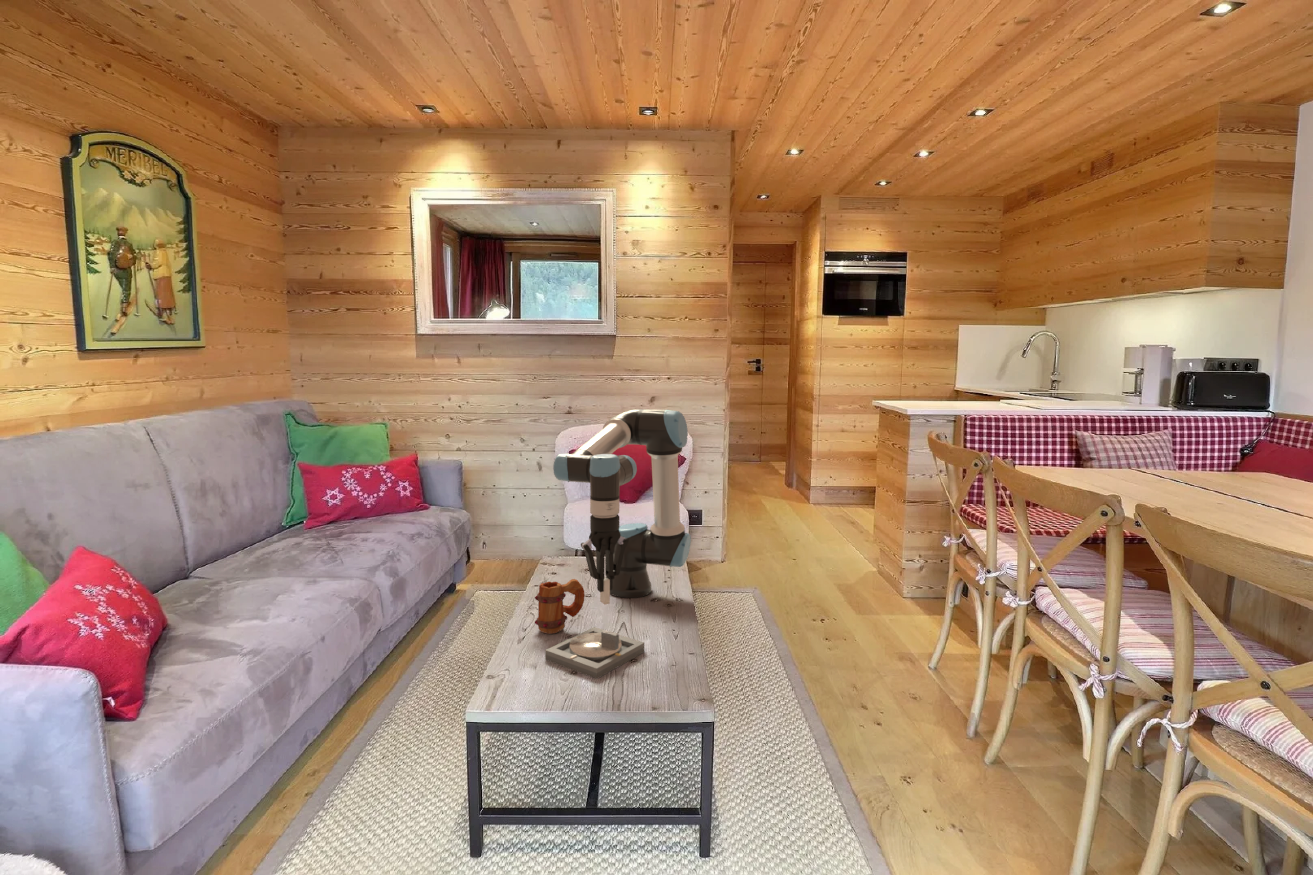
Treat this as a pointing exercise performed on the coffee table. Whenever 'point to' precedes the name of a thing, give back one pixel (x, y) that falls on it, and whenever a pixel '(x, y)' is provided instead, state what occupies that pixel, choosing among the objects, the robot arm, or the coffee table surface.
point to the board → (593, 669)
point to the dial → (596, 645)
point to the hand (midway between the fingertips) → (604, 602)
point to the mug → (557, 604)
